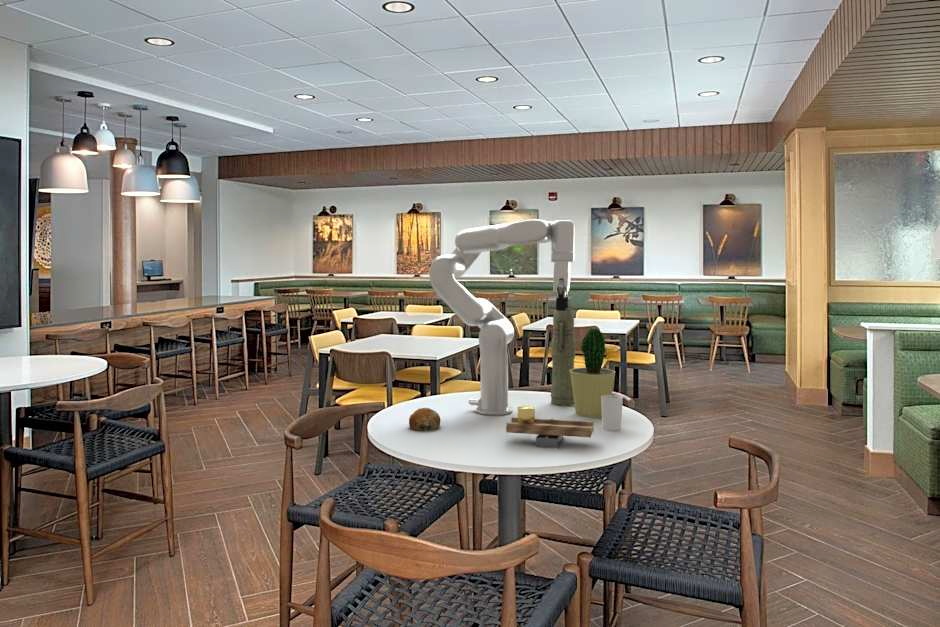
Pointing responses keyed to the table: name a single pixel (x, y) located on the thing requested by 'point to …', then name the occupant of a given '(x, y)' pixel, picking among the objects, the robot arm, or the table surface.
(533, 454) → the table surface
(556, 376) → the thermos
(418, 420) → the bread roll
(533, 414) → the rider
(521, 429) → the beam
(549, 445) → the fulcrum
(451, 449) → the table surface
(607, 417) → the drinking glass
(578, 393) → the potted cactus
